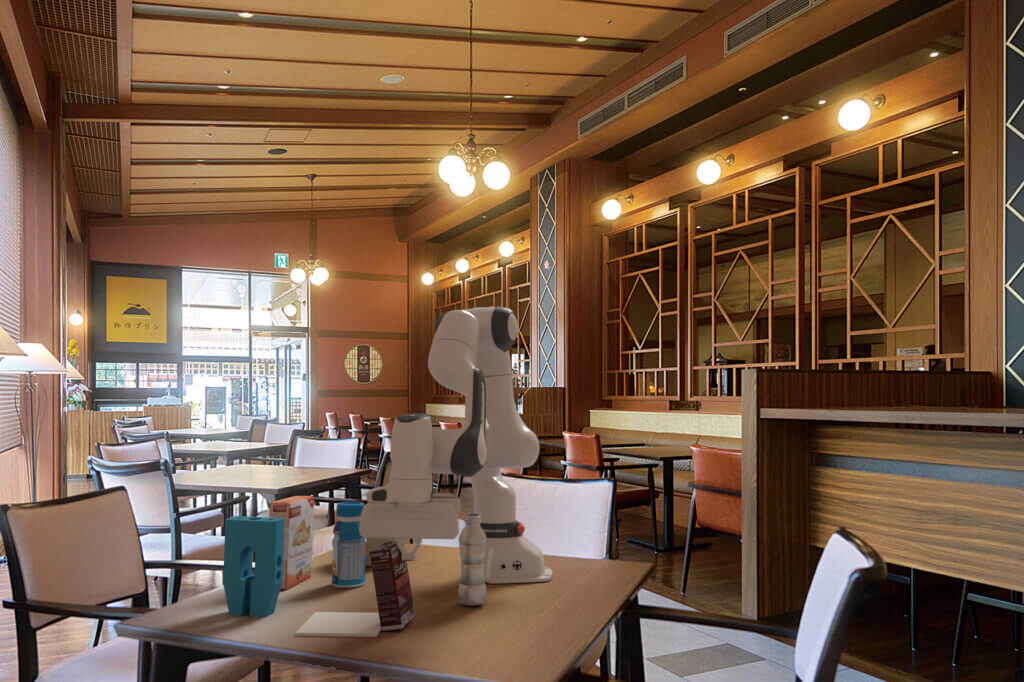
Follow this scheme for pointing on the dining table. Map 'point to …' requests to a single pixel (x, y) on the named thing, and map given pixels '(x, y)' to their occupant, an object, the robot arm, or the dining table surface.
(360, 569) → the beverage bottle
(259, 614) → the block
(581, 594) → the dining table surface
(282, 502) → the cracker box
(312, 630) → the felt mat
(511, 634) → the dining table surface
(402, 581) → the supplement box
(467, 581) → the plastic bottle
